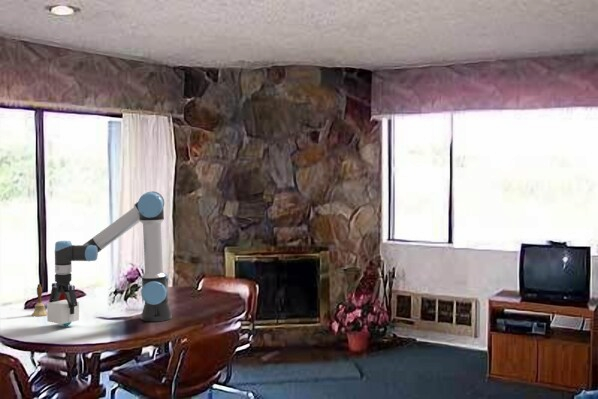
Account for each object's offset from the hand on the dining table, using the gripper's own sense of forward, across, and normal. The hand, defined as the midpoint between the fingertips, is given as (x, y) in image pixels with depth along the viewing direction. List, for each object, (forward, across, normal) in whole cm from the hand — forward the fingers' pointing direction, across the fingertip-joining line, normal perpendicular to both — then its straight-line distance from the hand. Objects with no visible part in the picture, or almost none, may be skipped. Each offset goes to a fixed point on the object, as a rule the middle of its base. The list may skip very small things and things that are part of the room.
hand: (63, 319), depth 335 cm
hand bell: (+4, -31, +10) cm, 33 cm away
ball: (+1, 0, +2) cm, 2 cm away
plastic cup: (+4, -40, +31) cm, 51 cm away
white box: (+1, 0, 0) cm, 1 cm away
